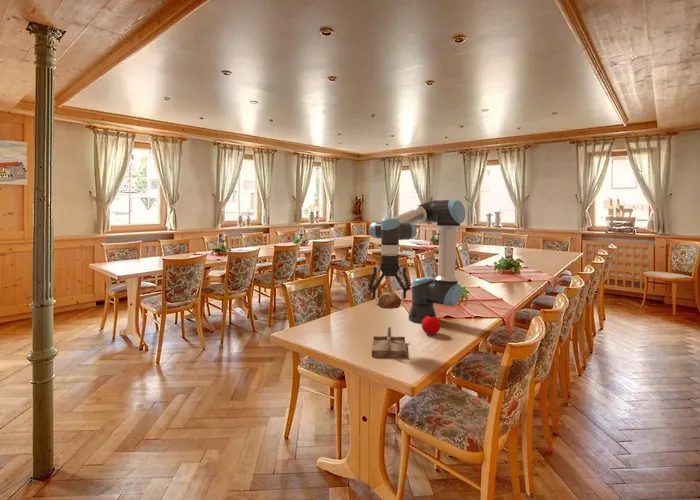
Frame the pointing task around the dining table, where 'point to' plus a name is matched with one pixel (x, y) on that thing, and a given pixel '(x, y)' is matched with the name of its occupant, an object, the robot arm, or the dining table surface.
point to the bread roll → (389, 301)
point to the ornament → (431, 324)
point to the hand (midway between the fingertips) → (389, 305)
